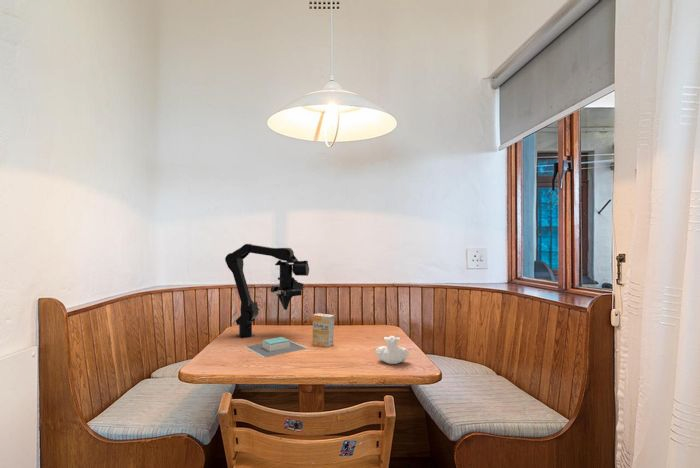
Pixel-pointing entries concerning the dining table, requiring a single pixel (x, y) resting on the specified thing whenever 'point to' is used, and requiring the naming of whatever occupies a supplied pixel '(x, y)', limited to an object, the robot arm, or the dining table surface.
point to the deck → (276, 344)
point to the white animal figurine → (392, 351)
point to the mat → (266, 353)
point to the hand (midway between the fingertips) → (285, 309)
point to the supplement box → (323, 330)
